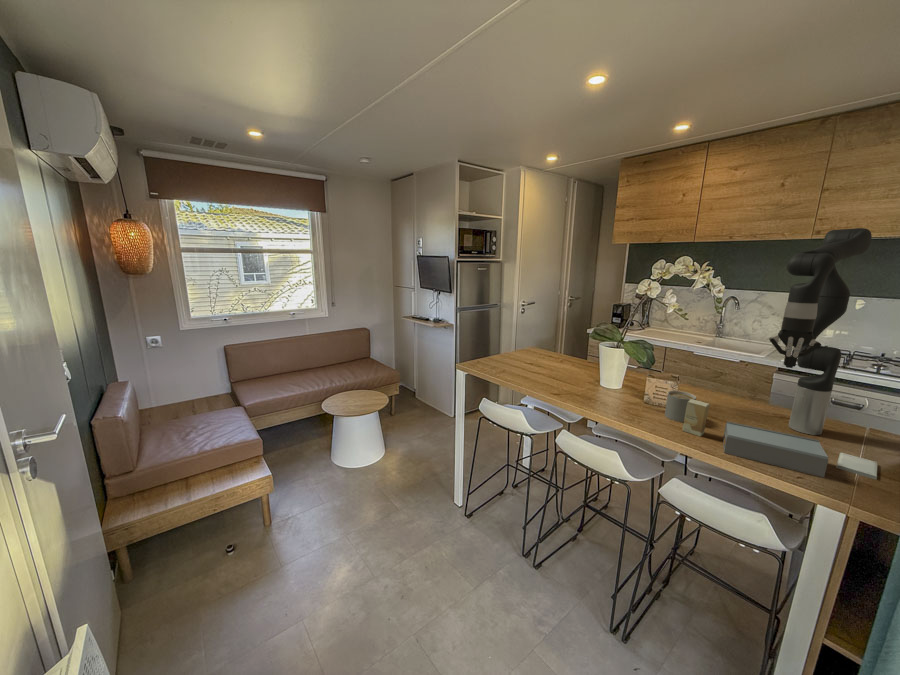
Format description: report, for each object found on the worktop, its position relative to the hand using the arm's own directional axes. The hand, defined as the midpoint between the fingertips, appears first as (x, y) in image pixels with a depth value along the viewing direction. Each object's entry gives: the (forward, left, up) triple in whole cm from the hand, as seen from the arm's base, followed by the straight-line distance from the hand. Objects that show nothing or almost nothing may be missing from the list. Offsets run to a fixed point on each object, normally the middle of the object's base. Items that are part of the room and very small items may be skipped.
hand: (788, 367), depth 119 cm
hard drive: (+1, +20, -30) cm, 36 cm away
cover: (+10, -2, -23) cm, 25 cm away
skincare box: (+4, -23, -29) cm, 37 cm away
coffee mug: (-10, -28, -29) cm, 42 cm away
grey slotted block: (+10, -2, -29) cm, 31 cm away
